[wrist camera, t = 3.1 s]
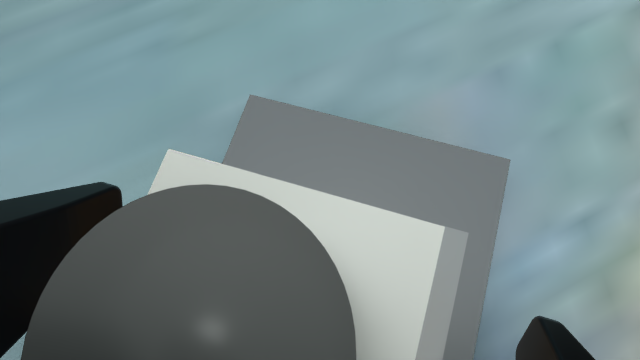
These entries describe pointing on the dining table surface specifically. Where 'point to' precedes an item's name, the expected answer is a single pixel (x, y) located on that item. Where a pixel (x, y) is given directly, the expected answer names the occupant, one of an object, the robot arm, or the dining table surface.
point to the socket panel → (392, 197)
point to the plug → (238, 275)
